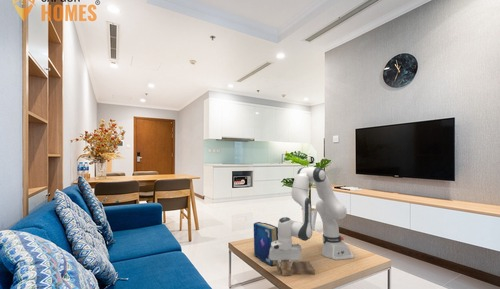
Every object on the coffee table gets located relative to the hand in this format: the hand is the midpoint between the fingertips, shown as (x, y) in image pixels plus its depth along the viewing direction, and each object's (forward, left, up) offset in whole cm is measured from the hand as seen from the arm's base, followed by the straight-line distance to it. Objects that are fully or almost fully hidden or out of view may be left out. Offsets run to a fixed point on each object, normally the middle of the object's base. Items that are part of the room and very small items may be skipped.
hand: (285, 266), depth 147 cm
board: (-7, -4, -4) cm, 9 cm away
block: (0, 0, -4) cm, 4 cm away
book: (+11, -19, -4) cm, 22 cm away
